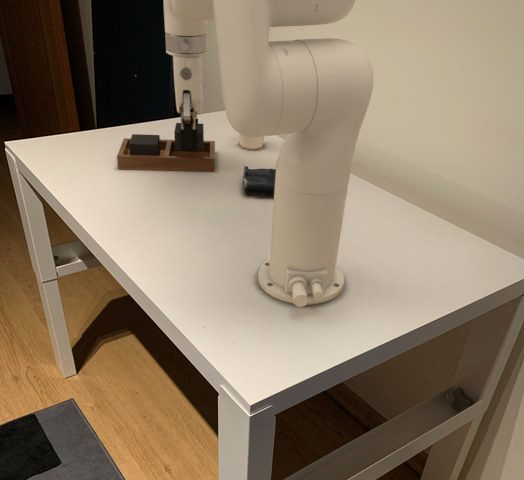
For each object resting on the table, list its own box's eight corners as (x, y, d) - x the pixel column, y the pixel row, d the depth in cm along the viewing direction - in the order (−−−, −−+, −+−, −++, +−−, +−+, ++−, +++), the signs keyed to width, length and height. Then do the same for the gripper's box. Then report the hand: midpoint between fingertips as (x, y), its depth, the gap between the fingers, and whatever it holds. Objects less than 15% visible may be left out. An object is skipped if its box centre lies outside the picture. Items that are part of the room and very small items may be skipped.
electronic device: (244, 207, 103) (325, 199, 102) (240, 177, 100) (324, 169, 99) (245, 192, 111) (320, 185, 110) (242, 164, 108) (319, 156, 107)
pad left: (158, 161, 112) (157, 144, 109) (130, 161, 111) (128, 143, 109) (160, 151, 116) (159, 134, 114) (133, 151, 115) (132, 134, 113)
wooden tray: (214, 171, 111) (214, 158, 110) (118, 169, 110) (116, 156, 108) (214, 153, 119) (214, 140, 117) (125, 150, 117) (123, 138, 116)
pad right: (203, 150, 111) (202, 132, 108) (175, 149, 110) (174, 132, 108) (203, 140, 115) (203, 123, 113) (176, 140, 114) (176, 122, 112)
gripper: (206, 55, 95) (207, 160, 106) (208, 35, 108) (209, 130, 119) (161, 53, 94) (168, 159, 106) (169, 33, 107) (174, 129, 119)
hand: (189, 142), depth 112 cm, fingers closed on pad right, 5 cm apart
